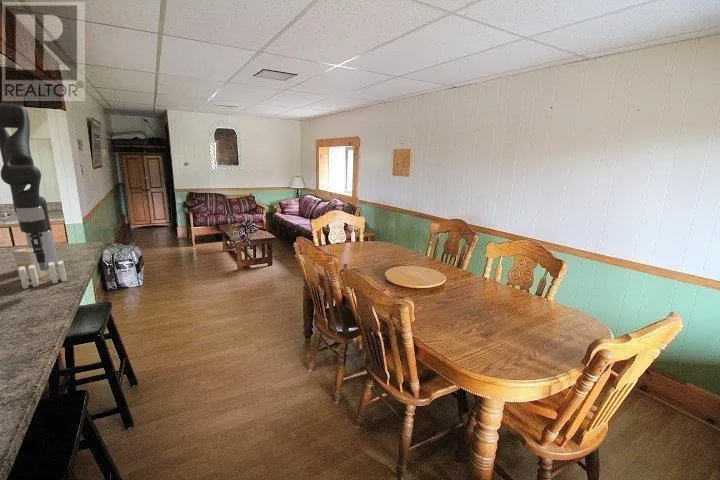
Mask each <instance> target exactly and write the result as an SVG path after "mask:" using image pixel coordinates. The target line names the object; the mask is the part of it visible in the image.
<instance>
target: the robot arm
mask: <svg viewBox="0 0 720 480" xmlns="http://www.w3.org/2000/svg"><path fill="white" fill-rule="evenodd" d="M30 123H31V122H30V116H29V113H28V110H27V108H26V107H25V106H24V105H21V104H16V103H15V104H13V103H5V102H4V103H3V102H0V154H1V158H2V159H1V160H2V164H3V165H2V166H1V169H0V178H1V180H2V181H3V182H4V183H5V184H7V185H8V186H9V187H10V192H11V198H12V203H13V208H14V212H15V214H16V217H17V222H18V226H19V230H20V232H21V233H25V237H26V242H27V246H28V247H27V248H30V249H33V250H34V254H36V258H37V262H38V263H42V262H45V263H46V268H49V266H48V265H49V262H54V266H55V267H56V266H58V261H59V257H58V253H57V249H56V243H55V240H54V235H53V230H52V225H51V222H50V218H49V211H48V204H47V201H46V199H45V198H44V197H43V196H41V195H40V185H41V180H42V173H41V170H40V169H39V168H38V167H37V166H36V165H35V163H34V160H33V157H32V154H31V148H30V137H31V124H30ZM6 128H7V129H16V131H15V132H14V133H12V134H11V135H10V134H9V133H8V131H7V129H6ZM28 185H30V186H29V188H28V189H27V188H26V187H27V186H28ZM36 248H40V249H41V250H36Z"/></svg>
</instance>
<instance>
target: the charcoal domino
mask: <svg viewBox="0 0 720 480" xmlns="http://www.w3.org/2000/svg"><path fill="white" fill-rule="evenodd" d="M36 250H41V249H40V248H36ZM39 266H40V270H41V271H42V270H45V271H47V267H46V263H45V262H42V263H39Z"/></svg>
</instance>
